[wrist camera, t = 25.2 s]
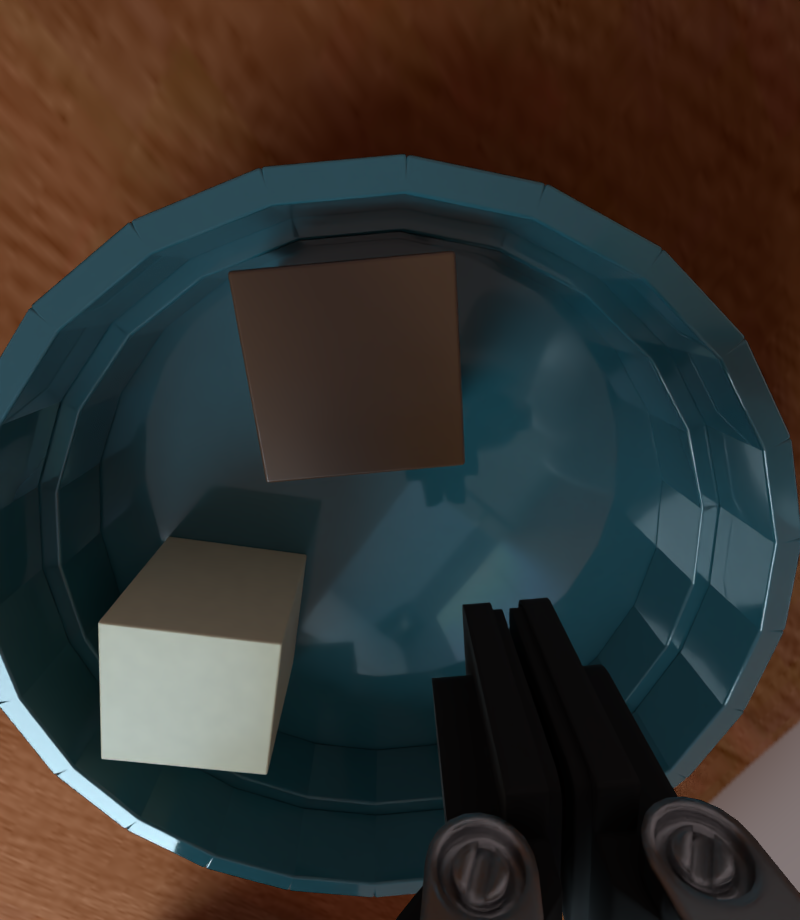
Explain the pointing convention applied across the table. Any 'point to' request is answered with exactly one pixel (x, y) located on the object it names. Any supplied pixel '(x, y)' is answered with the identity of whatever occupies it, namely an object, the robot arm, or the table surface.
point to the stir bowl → (390, 502)
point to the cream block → (200, 657)
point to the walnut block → (353, 364)
